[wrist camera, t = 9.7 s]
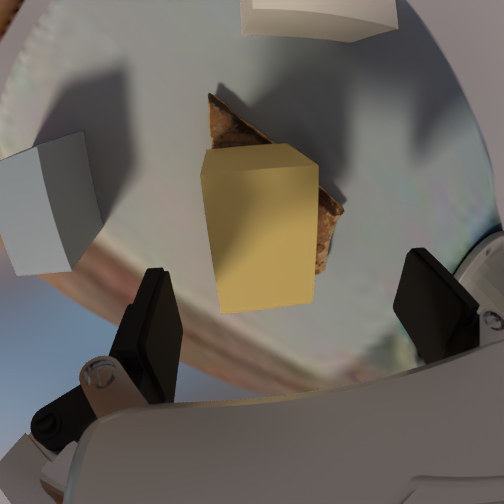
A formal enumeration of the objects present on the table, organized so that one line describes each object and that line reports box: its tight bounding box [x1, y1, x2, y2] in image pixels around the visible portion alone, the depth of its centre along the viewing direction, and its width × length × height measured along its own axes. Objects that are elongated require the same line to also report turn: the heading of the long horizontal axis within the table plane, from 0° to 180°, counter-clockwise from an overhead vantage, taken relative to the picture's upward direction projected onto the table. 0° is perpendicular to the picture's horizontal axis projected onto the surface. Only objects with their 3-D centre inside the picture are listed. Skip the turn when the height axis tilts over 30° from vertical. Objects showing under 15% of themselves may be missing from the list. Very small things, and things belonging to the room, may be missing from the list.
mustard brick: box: [200, 143, 319, 314], centre depth 13 cm, size 6×4×5 cm, turn 4°
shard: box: [208, 93, 344, 275], centre depth 16 cm, size 11×8×2 cm
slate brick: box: [0, 131, 104, 276], centre depth 12 cm, size 6×4×5 cm, turn 3°
